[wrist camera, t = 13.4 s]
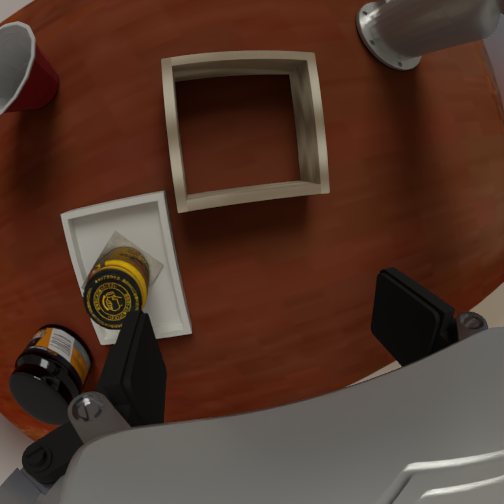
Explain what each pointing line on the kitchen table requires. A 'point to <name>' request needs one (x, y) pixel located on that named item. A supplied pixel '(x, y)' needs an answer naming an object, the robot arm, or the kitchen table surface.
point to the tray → (146, 238)
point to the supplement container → (51, 373)
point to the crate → (305, 114)
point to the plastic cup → (24, 71)
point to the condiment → (118, 282)
